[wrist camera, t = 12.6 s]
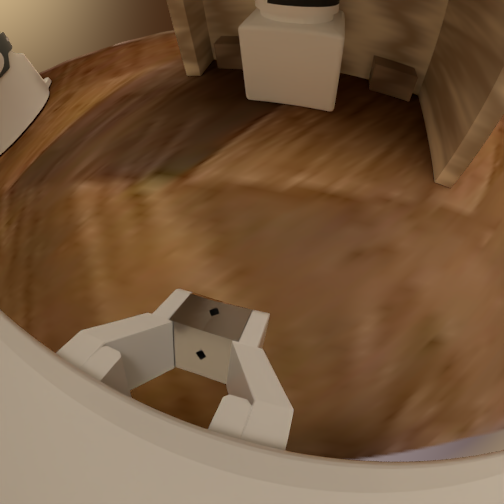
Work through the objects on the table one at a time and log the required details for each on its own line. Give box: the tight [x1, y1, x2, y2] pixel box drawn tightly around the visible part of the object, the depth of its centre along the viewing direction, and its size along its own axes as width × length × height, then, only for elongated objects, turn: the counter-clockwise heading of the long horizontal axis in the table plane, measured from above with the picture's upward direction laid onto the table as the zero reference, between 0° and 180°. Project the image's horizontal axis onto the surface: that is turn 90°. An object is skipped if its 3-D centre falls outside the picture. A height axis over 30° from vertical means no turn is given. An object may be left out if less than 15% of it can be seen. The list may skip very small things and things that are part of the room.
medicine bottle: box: [238, 0, 345, 111], centre depth 16 cm, size 7×7×12 cm
